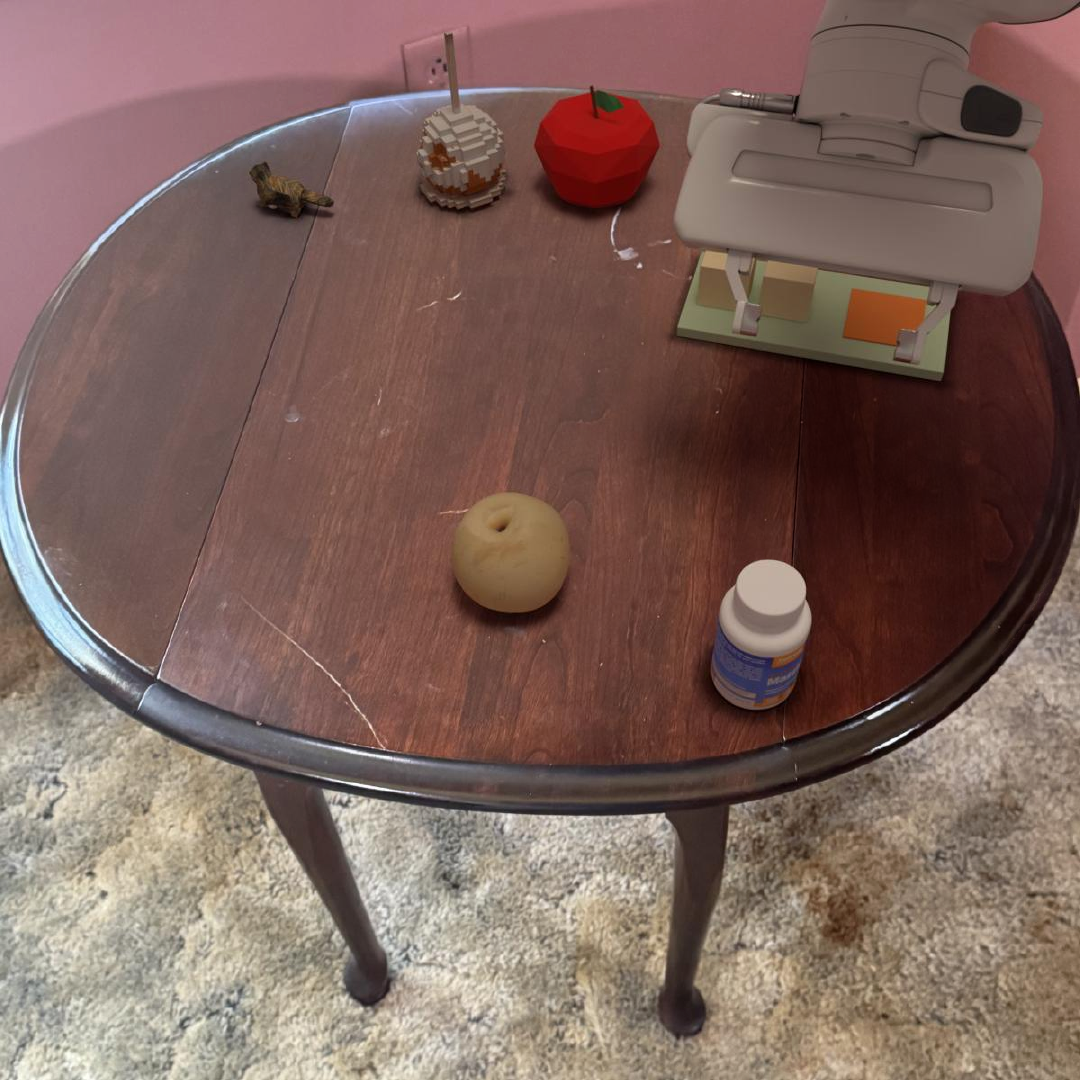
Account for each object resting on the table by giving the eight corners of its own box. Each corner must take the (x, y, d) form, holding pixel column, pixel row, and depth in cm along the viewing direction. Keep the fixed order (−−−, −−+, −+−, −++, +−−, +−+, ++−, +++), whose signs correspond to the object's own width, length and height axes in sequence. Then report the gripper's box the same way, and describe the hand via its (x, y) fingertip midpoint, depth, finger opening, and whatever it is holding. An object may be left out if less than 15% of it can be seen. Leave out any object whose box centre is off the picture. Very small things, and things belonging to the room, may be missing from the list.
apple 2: (515, 187, 104) (510, 88, 96) (597, 141, 108) (598, 42, 100) (594, 238, 99) (595, 137, 91) (677, 187, 103) (684, 87, 95)
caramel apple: (409, 179, 105) (386, 25, 93) (482, 155, 107) (469, 0, 95) (444, 223, 101) (425, 66, 89) (520, 196, 103) (511, 40, 91)
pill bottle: (772, 727, 69) (795, 642, 61) (694, 687, 71) (707, 600, 63) (809, 662, 72) (836, 574, 64) (733, 626, 73) (750, 535, 66)
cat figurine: (257, 190, 104) (255, 154, 101) (338, 217, 104) (338, 182, 101) (244, 208, 103) (242, 172, 99) (326, 235, 102) (327, 200, 99)
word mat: (949, 299, 92) (966, 250, 88) (940, 381, 87) (957, 333, 83) (700, 260, 97) (705, 211, 93) (676, 336, 91) (680, 287, 87)
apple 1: (589, 618, 74) (533, 587, 67) (486, 629, 77) (424, 600, 71) (591, 508, 76) (538, 468, 70) (492, 523, 80) (432, 487, 74)
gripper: (691, 67, 62) (644, 314, 64) (1075, 114, 58) (1011, 377, 60) (701, 98, 68) (657, 322, 71) (1049, 143, 64) (992, 380, 66)
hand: (823, 348), depth 65 cm, fingers open, 8 cm apart
